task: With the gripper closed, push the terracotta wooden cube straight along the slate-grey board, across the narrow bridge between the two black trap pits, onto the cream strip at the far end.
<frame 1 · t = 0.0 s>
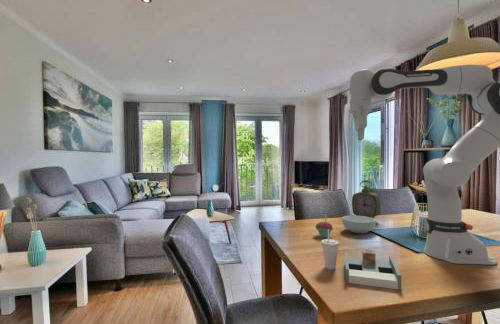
hand: (361, 139, 116), 48 cm above the table, tool pointing down, fingers open, 8 cm apart
cereal bowl: (358, 231, 142), on the table
smoothie: (330, 268, 98), on the table
cupcake: (324, 236, 135), on the table
terracotta block: (368, 262, 95), point 2 cm above the table, touching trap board
tabletop clock: (366, 221, 163), on the table
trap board: (370, 275, 91), on the table
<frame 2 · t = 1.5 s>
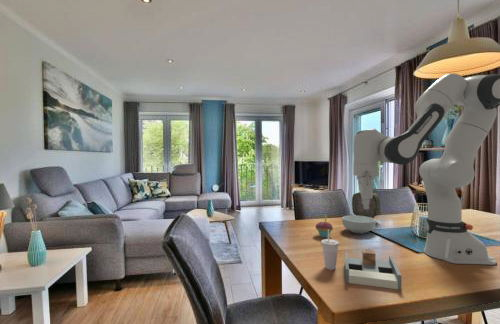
hand: (365, 206, 103), 21 cm above the table, tool pointing down, fingers open, 8 cm apart
nothing on the table moved.
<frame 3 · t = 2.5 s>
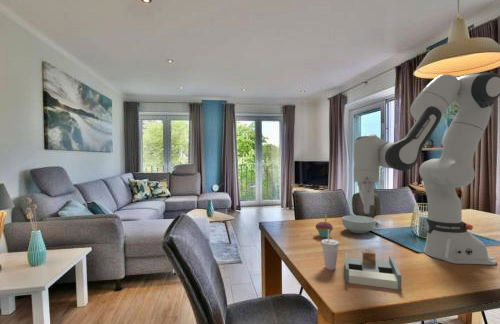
hand: (366, 212, 102), 19 cm above the table, tool pointing down, fingers closed
nothing on the table moved.
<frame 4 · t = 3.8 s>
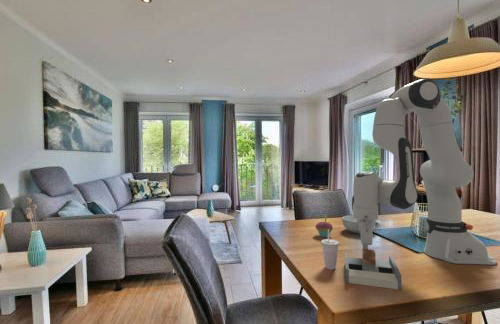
hand: (365, 249, 102), 5 cm above the table, tool pointing down, fingers closed
nothing on the table moved.
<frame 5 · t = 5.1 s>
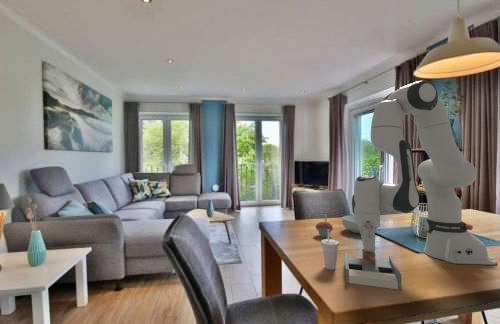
hand: (367, 255, 99), 4 cm above the table, tool pointing down, fingers closed
terracotta block: (368, 262, 95), point 3 cm above the table, touching gripper, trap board
everything else where it was.
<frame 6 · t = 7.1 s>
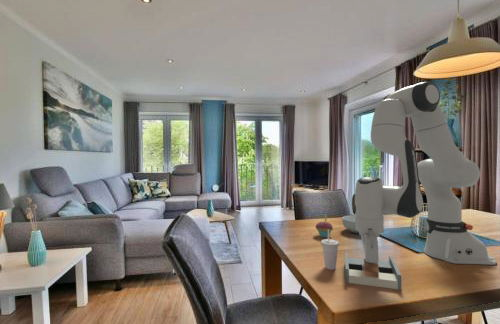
hand: (369, 265, 90), 4 cm above the table, tool pointing down, fingers closed
terracotta block: (371, 274, 86), point 2 cm above the table, touching gripper, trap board
everything else where it was.
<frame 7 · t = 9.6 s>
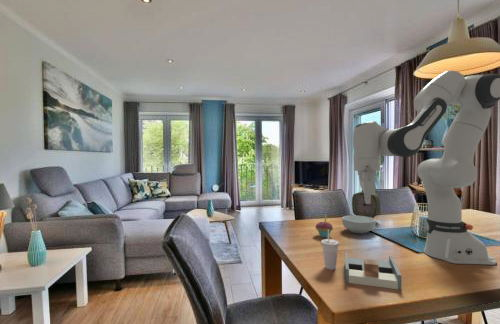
hand: (367, 203, 98), 24 cm above the table, tool pointing down, fingers closed
terracotta block: (371, 274, 86), point 2 cm above the table, touching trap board
everything else where it was.
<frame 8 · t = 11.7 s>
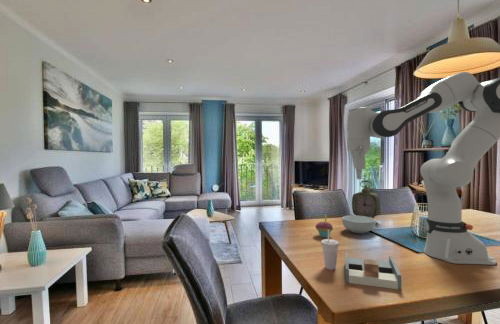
hand: (359, 179, 112), 31 cm above the table, tool pointing down, fingers closed
nothing on the table moved.
at the end: terracotta block 0.3 cm from the target spot, point 2.5 cm above the table; terracotta block tilted 0° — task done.
